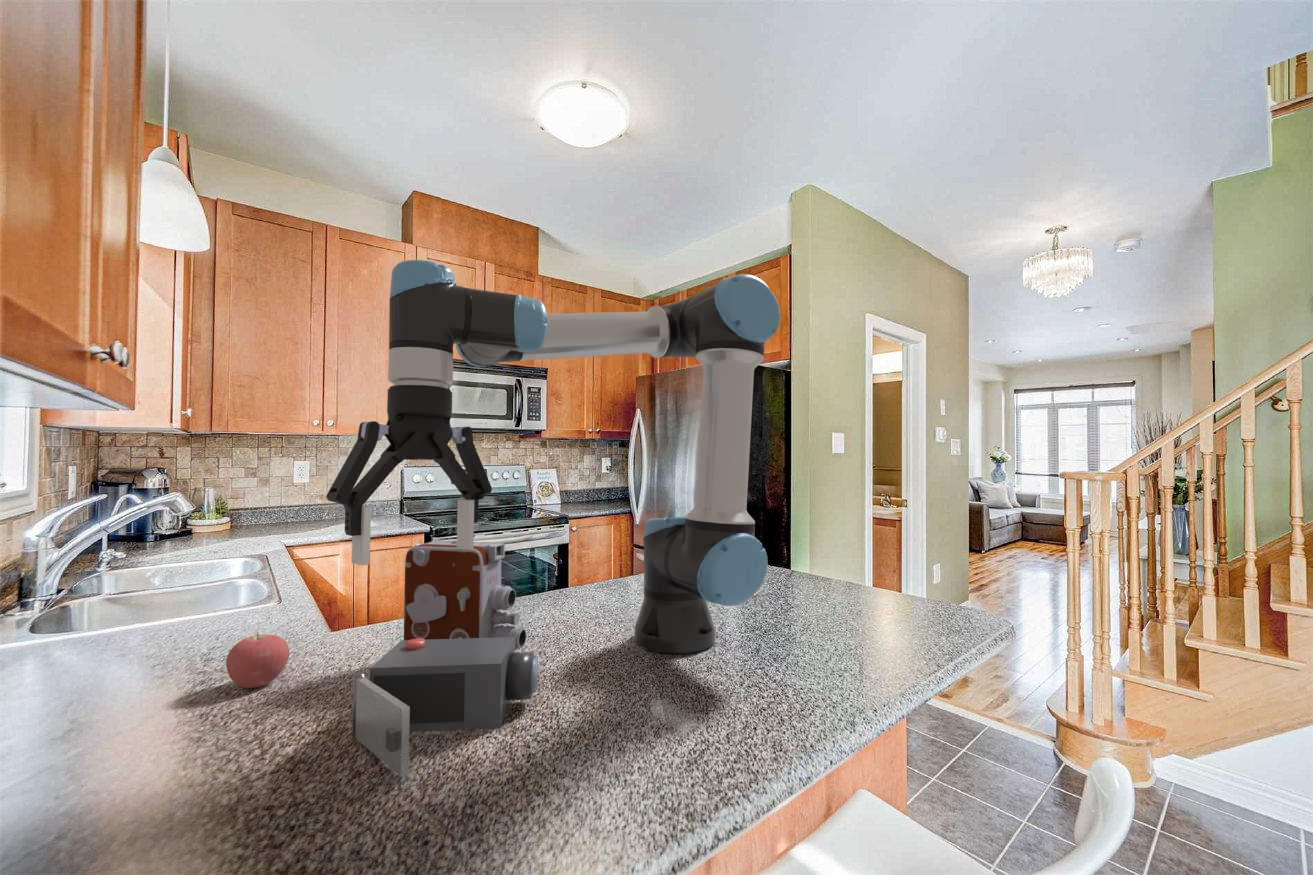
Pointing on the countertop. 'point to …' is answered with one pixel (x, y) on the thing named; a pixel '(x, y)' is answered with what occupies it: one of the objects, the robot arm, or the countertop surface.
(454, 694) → the camera block
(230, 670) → the apple
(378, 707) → the side door
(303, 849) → the countertop surface
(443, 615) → the cine camera
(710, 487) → the robot arm
